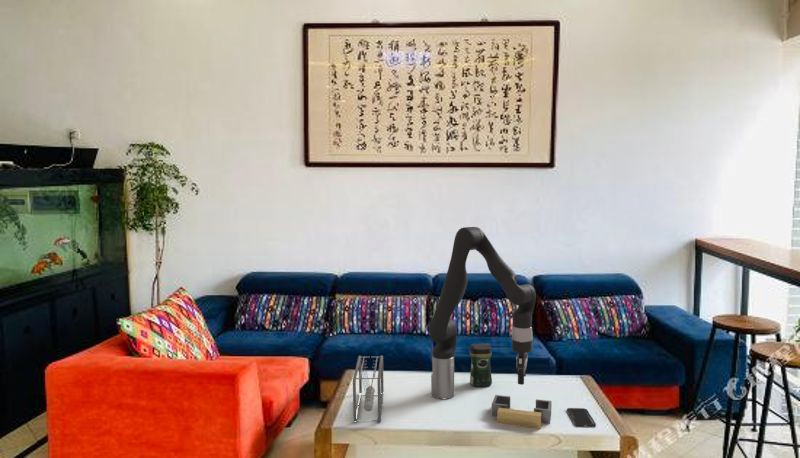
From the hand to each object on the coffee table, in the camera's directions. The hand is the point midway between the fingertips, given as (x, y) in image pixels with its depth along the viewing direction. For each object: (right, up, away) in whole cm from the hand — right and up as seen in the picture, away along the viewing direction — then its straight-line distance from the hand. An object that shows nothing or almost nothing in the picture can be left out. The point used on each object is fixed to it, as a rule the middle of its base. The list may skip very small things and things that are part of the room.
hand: (521, 380), depth 212 cm
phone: (+24, -17, +5) cm, 29 cm away
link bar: (-1, -17, +1) cm, 17 cm away
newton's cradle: (-58, -16, +17) cm, 63 cm away
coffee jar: (-10, -13, +41) cm, 44 cm away
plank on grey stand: (+2, -16, +9) cm, 18 cm away
